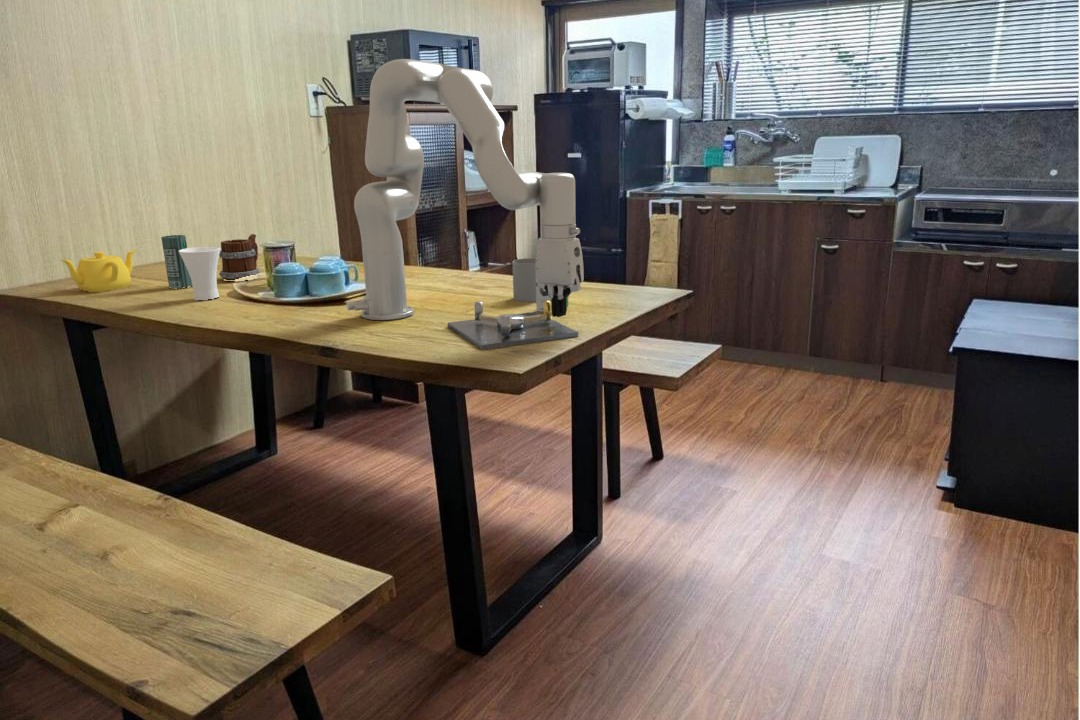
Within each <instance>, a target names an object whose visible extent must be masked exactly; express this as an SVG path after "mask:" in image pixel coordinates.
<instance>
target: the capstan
mask: <svg viewBox="0 0 1080 720" xmlns="http://www.w3.org/2000/svg"><path fill="white" fill-rule="evenodd" d="M473 305H474V319H475V320H477V321H481V320H484V321H491V322H497V327H498V328H501V335H502V336H509V335H510V331H511V329H518V328H522V327H524V323H526V322H534V321H542V320H545V321H550V320H553V318H552V317H553V316H552V310H551V302H550V301H545V302H543V311H544V312H543V314H541V315H534V316H526V317H524V316H523V315H520V314H521V313H506V314H505V313H503V314H500V315H491V314H484V311H483V310H484V309H483V307H484V306H483V301H474V304H473Z"/></svg>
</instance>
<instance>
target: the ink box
mask: <svg viewBox="0 0 1080 720" xmlns="http://www.w3.org/2000/svg"><path fill="white" fill-rule="evenodd" d="M535 266H536V265H535ZM537 283H538V281H537V279H536V312H542V313H544V311H543V302H545V301H550V302H551V298H549V294H548V293H547V292H546V290H545V289H542V288H540V287H538V286H537ZM567 307H569V297H567Z"/></svg>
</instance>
